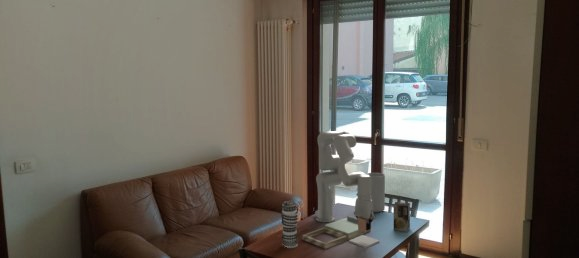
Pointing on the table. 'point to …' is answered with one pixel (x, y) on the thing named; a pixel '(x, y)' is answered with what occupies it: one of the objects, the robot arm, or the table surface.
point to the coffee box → (401, 216)
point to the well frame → (341, 235)
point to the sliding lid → (345, 225)
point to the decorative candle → (289, 224)
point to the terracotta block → (362, 224)
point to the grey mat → (364, 241)
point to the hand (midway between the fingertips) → (364, 228)
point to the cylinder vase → (378, 191)
